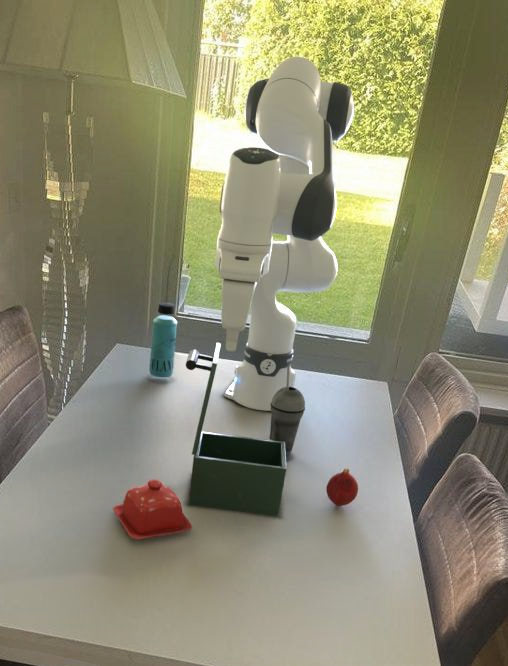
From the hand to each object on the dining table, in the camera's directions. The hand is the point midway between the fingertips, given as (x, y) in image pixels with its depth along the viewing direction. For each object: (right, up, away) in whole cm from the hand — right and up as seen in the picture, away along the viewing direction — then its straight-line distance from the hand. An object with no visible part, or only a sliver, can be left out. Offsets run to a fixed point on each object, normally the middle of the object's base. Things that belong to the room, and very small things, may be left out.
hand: (232, 341), depth 119 cm
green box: (+1, -27, +14) cm, 30 cm away
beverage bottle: (-15, +3, +66) cm, 67 cm away
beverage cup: (+12, -19, +31) cm, 38 cm away
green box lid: (-4, -9, +5) cm, 11 cm away
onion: (+21, -29, +14) cm, 38 cm away
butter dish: (-14, -32, +2) cm, 35 cm away
